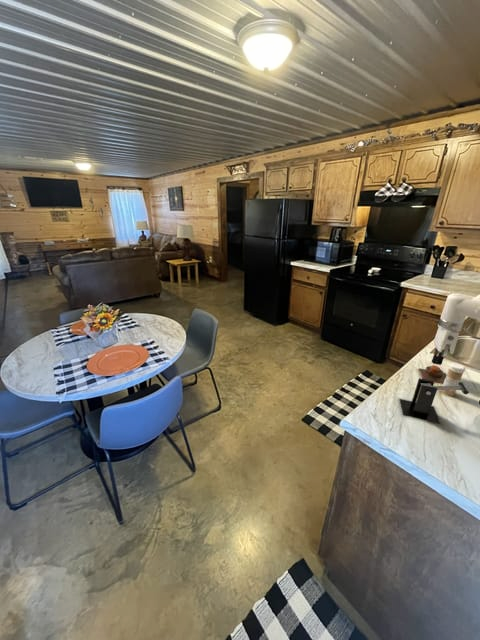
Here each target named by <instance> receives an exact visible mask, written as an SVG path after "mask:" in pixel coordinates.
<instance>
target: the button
mask: <svg viewBox="0 0 480 640" xmlns="http://www.w3.org/2000/svg"><path fill="white" fill-rule="evenodd" d="M430 366H431V368H430V370H431V371H433V372H436V373H439V370H440V369H441V367H439V366H437V365H435V364H434V365H433V364H432V365H430Z"/></svg>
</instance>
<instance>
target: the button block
mask: <svg viewBox="0 0 480 640" xmlns="http://www.w3.org/2000/svg"><path fill="white" fill-rule="evenodd" d="M431 366H432V365H428V366H426V367H425V369H424V368H420V367H419V368H418V372H419V374H420V375H419V376H420V377H421V379H425V380H430V381H434V383H438V384H443V383H444V381H445V378H446V376H447V373H446V372H444V370H443V369H441V368H440V370H439V373H436V372H433V371H431V370H430V368H431Z"/></svg>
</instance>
